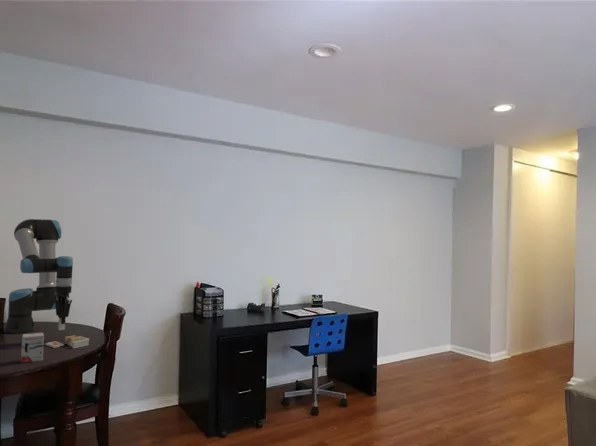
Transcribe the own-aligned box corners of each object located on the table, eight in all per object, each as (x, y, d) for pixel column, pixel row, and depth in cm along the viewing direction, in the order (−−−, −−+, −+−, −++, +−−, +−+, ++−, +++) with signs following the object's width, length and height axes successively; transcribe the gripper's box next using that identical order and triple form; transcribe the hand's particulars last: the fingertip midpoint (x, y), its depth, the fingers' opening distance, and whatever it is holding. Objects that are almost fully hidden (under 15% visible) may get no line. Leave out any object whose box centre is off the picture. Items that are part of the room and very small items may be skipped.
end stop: (71, 347, 228) (71, 341, 228) (86, 344, 235) (86, 338, 235) (73, 348, 227) (74, 342, 227) (88, 345, 234) (88, 339, 234)
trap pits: (45, 345, 231) (45, 343, 231) (80, 338, 247) (80, 336, 247) (54, 347, 227) (54, 345, 227) (89, 340, 243) (89, 338, 243)
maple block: (64, 344, 234) (65, 337, 234) (74, 342, 238) (74, 335, 238) (71, 346, 230) (71, 339, 231) (80, 344, 235) (81, 337, 235)
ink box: (21, 363, 202) (22, 336, 202) (20, 360, 206) (22, 334, 206) (43, 360, 206) (44, 334, 206) (42, 357, 210) (43, 332, 210)
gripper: (49, 284, 241) (47, 328, 241) (63, 287, 234) (61, 333, 234) (63, 283, 247) (61, 326, 247) (77, 286, 240) (75, 330, 240)
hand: (61, 329), depth 241 cm, fingers closed
